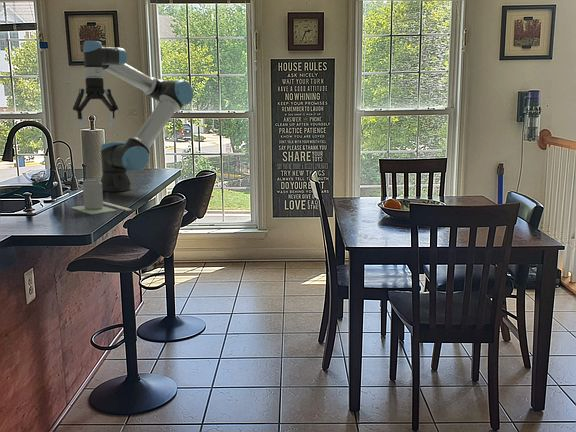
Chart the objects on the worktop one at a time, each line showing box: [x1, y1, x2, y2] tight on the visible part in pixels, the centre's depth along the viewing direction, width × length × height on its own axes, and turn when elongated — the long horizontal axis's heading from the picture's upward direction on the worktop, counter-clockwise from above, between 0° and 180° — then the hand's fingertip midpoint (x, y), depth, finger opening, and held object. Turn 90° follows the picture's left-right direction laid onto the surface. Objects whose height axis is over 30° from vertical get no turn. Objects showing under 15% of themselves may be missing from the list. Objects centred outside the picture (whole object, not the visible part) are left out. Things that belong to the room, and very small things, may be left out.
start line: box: [103, 201, 133, 212], centre depth 249 cm, size 2×24×1 cm, turn 43°
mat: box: [70, 205, 118, 215], centre depth 243 cm, size 11×18×1 cm, turn 43°
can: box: [82, 178, 104, 210], centre depth 242 cm, size 8×8×12 cm
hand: (97, 126), depth 267 cm, fingers open, 13 cm apart
